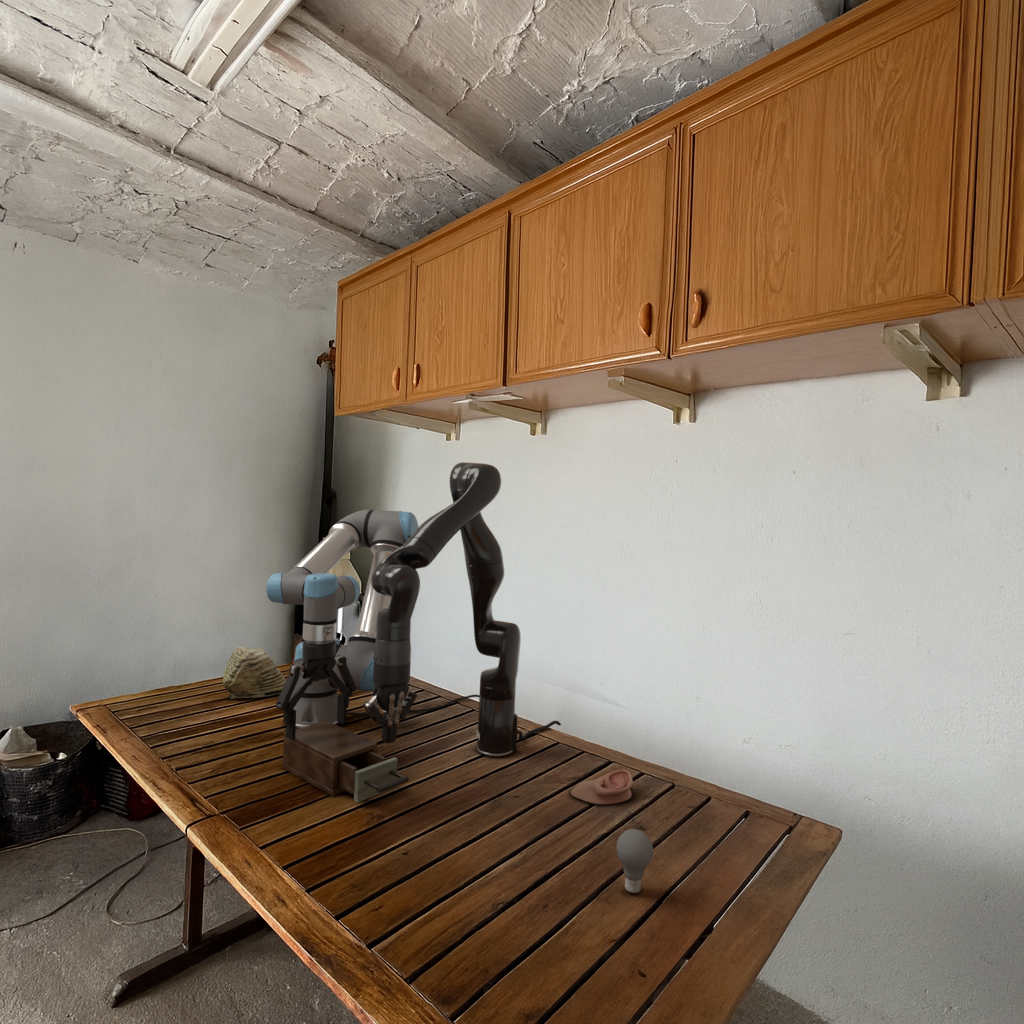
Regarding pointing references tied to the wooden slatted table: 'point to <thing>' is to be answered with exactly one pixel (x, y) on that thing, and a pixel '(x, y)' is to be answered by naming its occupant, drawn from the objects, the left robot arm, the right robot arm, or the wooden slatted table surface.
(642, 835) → the light bulb
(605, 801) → the anatomical model
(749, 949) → the wooden slatted table surface
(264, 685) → the fossil
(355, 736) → the cabinet
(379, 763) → the drawer
